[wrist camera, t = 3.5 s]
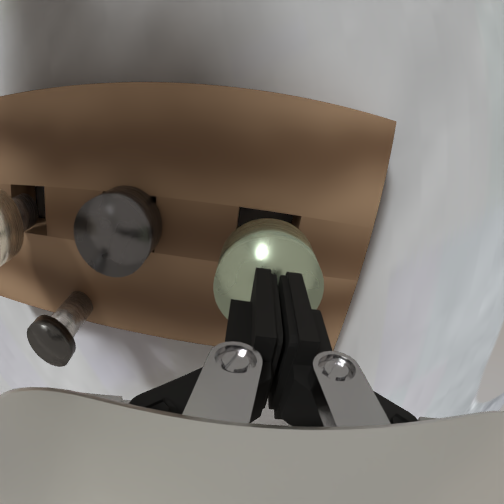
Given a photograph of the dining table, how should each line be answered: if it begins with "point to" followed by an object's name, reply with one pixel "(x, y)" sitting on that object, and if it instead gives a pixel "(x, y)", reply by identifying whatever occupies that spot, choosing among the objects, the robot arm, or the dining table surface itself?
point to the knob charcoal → (118, 230)
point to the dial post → (60, 329)
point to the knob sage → (265, 260)
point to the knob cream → (15, 223)
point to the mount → (187, 192)
